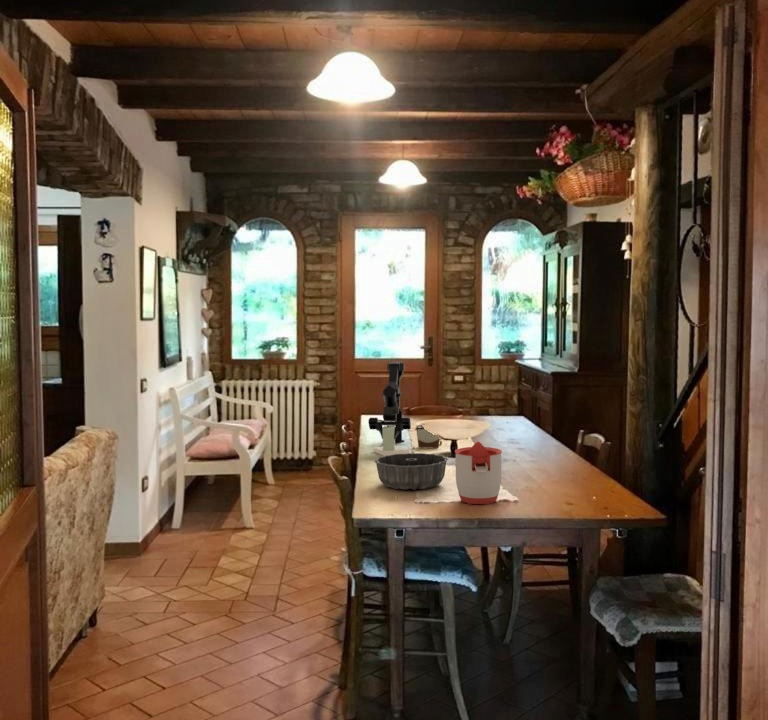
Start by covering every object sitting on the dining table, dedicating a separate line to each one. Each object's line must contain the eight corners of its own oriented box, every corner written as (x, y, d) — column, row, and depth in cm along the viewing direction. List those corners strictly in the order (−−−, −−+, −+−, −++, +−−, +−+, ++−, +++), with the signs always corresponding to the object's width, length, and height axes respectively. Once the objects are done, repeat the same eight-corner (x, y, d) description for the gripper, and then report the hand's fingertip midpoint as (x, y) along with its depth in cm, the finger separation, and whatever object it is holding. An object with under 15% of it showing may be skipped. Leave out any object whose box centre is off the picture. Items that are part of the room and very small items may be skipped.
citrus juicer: (458, 508, 251) (457, 447, 250) (453, 495, 269) (452, 438, 267) (506, 507, 251) (506, 446, 250) (498, 495, 269) (498, 437, 267)
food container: (442, 445, 368) (441, 424, 368) (441, 447, 362) (441, 426, 362) (416, 445, 370) (415, 424, 369) (415, 447, 363) (414, 426, 363)
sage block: (384, 448, 351) (383, 426, 350) (395, 448, 350) (394, 426, 350) (382, 450, 346) (382, 428, 345) (394, 450, 345) (393, 428, 345)
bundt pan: (364, 482, 292) (363, 456, 292) (426, 475, 303) (426, 449, 302) (394, 497, 268) (393, 468, 268) (461, 489, 279) (460, 461, 278)
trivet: (374, 451, 354) (374, 447, 354) (398, 449, 359) (398, 445, 359) (384, 456, 343) (384, 451, 343) (409, 453, 348) (409, 449, 348)
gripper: (368, 399, 352) (365, 428, 342) (409, 399, 350) (408, 427, 339) (371, 414, 360) (368, 442, 350) (411, 414, 358) (410, 442, 348)
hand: (388, 438), depth 347 cm, fingers closed on sage block, 5 cm apart
